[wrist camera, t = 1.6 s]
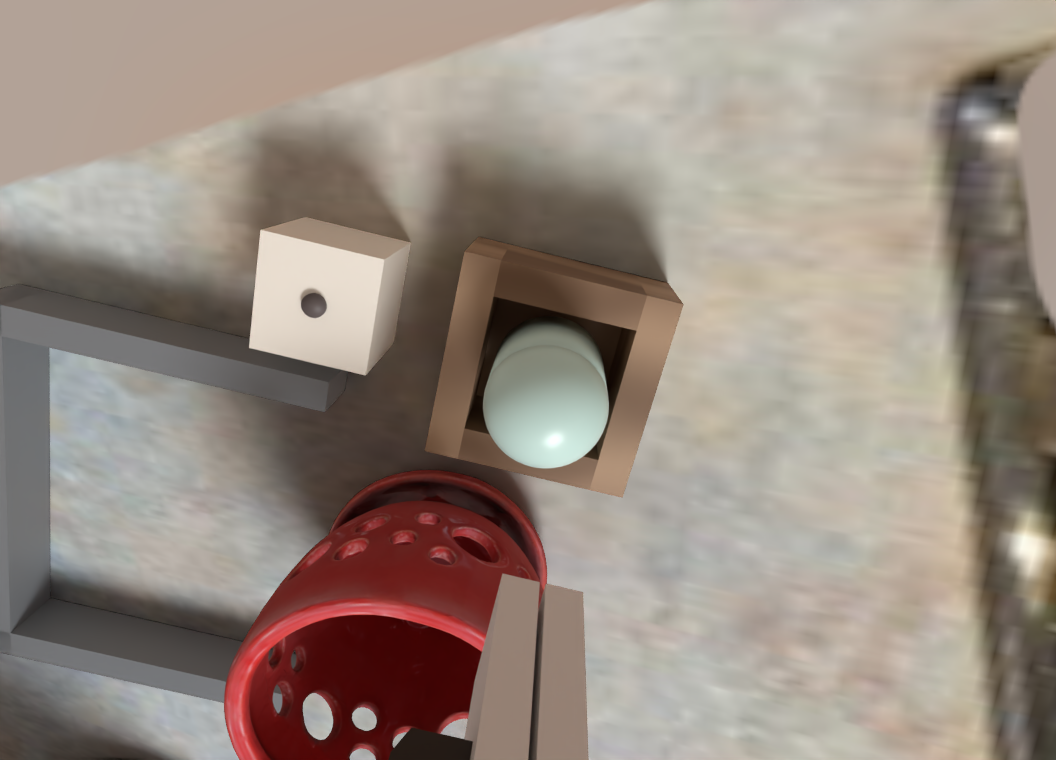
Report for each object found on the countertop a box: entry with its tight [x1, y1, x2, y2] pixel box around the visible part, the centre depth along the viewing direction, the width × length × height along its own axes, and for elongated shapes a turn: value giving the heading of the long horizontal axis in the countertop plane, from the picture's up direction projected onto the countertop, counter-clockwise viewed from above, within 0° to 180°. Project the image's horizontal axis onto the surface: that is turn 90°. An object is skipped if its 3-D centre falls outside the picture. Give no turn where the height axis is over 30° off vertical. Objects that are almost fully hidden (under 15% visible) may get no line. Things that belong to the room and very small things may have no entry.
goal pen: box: [0, 284, 348, 713], centre depth 36 cm, size 20×16×3 cm
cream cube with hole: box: [249, 217, 411, 375], centre depth 30 cm, size 5×5×5 cm
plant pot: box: [224, 470, 547, 760], centre depth 32 cm, size 13×13×12 cm
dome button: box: [483, 316, 609, 468], centre depth 27 cm, size 5×5×7 cm
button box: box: [425, 237, 683, 497], centre depth 31 cm, size 9×9×4 cm
